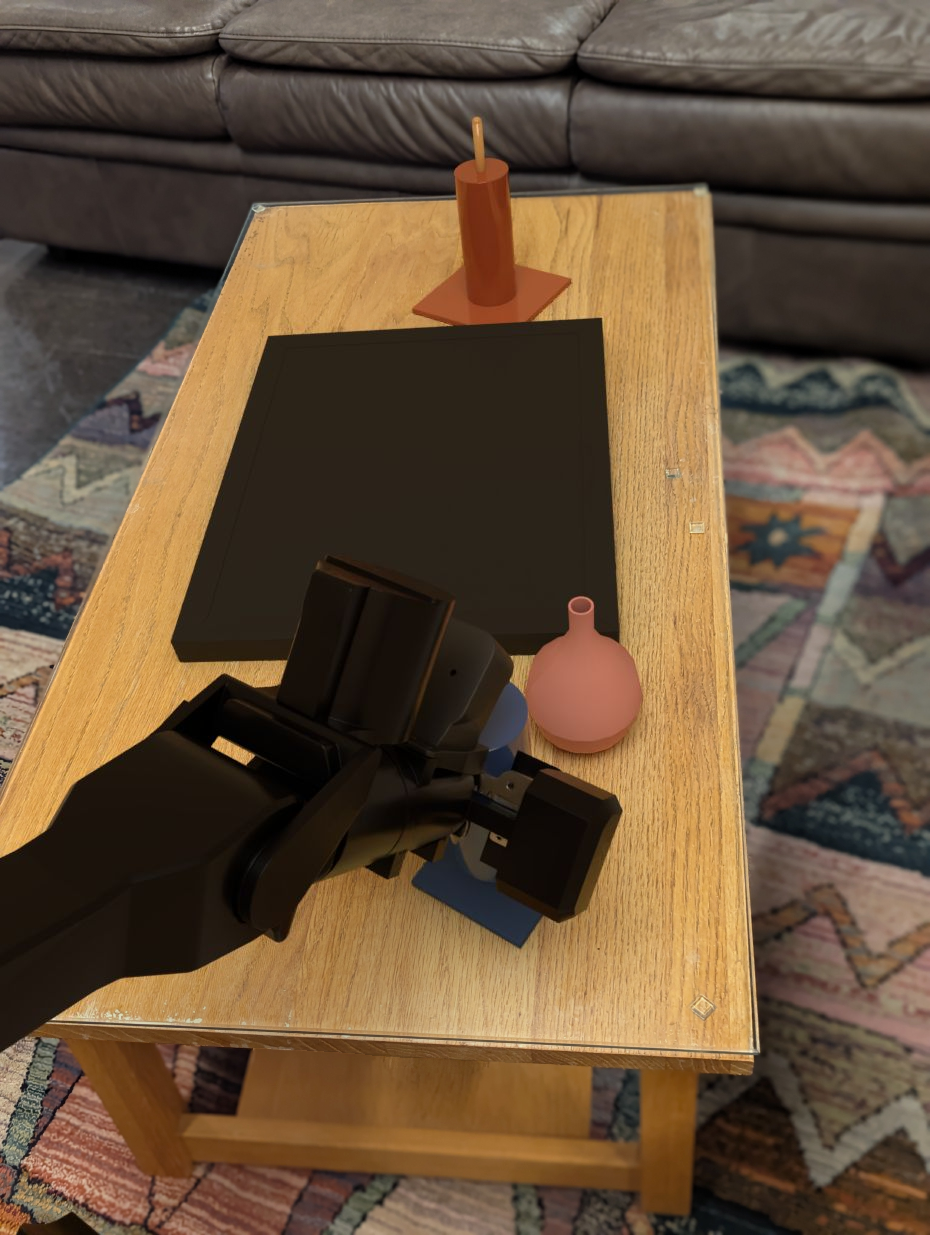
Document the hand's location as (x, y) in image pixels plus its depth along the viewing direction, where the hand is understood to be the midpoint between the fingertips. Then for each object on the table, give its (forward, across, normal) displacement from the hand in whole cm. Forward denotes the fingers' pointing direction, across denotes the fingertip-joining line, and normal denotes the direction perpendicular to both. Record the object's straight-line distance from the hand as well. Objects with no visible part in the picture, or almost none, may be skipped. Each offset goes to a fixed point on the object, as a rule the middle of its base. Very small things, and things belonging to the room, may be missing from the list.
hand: (500, 765), depth 61 cm
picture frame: (+26, +26, -13) cm, 39 cm away
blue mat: (+6, 0, +7) cm, 9 cm away
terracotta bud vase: (+14, +1, -1) cm, 14 cm away
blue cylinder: (+4, 0, +6) cm, 7 cm away
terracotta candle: (+45, +35, -33) cm, 66 cm away
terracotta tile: (+45, +35, -32) cm, 66 cm away
